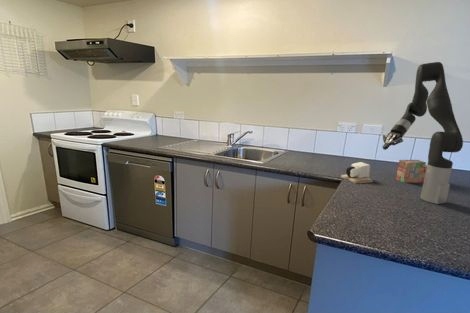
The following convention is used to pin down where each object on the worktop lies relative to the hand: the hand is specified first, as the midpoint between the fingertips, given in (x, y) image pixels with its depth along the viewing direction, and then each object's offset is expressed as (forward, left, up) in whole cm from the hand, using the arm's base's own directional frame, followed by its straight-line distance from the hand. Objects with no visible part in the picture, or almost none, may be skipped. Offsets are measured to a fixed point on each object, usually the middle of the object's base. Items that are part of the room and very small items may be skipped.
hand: (384, 148), depth 163 cm
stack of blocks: (-12, -15, -18) cm, 26 cm away
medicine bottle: (-1, +13, -12) cm, 17 cm away
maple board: (-2, +20, -17) cm, 26 cm away
